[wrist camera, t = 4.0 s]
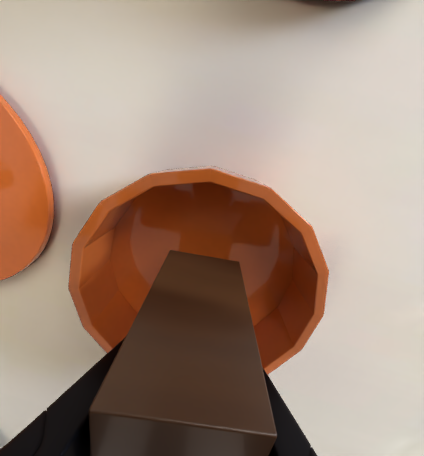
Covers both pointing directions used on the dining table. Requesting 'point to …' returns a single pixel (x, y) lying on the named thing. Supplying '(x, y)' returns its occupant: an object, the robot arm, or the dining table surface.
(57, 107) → the dining table surface
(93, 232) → the pot
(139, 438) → the block
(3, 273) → the lid
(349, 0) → the bell
